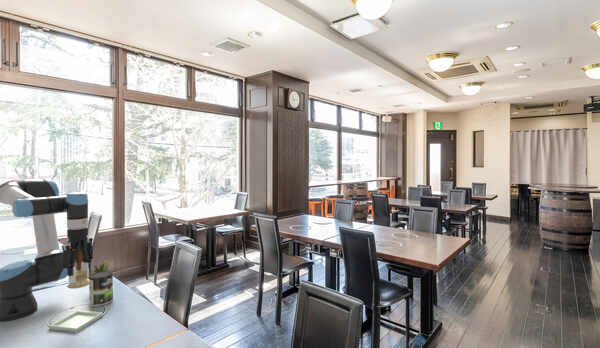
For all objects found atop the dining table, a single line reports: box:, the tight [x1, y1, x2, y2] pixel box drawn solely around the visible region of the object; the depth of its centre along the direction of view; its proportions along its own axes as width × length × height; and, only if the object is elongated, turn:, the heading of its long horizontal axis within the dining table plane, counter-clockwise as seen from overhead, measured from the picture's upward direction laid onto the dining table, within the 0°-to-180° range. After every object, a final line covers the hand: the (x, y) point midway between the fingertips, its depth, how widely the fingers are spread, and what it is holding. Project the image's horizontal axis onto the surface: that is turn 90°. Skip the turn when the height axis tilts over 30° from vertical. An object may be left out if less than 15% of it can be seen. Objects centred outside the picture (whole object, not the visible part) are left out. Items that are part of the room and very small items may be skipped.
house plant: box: [87, 260, 113, 280], centre depth 168 cm, size 14×14×16 cm
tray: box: [48, 309, 104, 334], centre depth 134 cm, size 14×14×2 cm
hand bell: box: [66, 249, 90, 290], centre depth 134 cm, size 8×8×16 cm
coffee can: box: [88, 270, 114, 307], centre depth 155 cm, size 10×10×14 cm
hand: (78, 279), depth 134 cm, fingers closed on hand bell, 6 cm apart
